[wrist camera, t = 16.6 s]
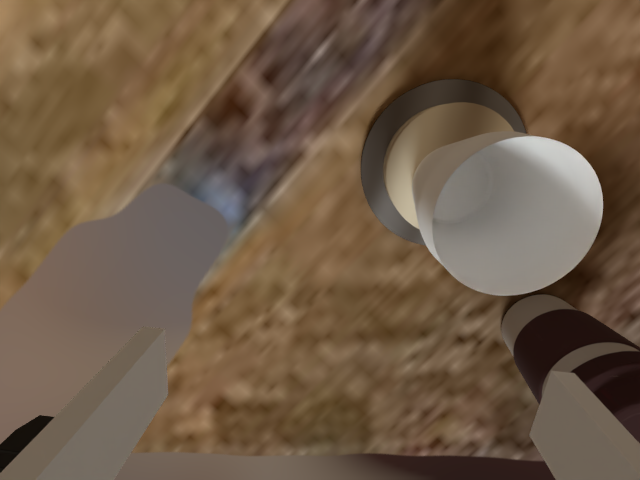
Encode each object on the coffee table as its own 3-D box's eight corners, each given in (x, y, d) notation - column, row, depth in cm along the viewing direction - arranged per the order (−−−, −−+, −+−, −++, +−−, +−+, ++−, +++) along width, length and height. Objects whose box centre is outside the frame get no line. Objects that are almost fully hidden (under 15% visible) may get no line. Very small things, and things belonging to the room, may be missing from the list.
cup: (374, 187, 31) (393, 225, 20) (456, 103, 29) (530, 91, 17) (447, 256, 33) (503, 327, 21) (530, 181, 30) (643, 217, 19)
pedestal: (346, 228, 37) (347, 240, 33) (380, 65, 32) (385, 58, 28) (494, 255, 37) (512, 271, 33) (549, 97, 32) (577, 93, 28)
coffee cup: (471, 306, 38) (548, 414, 24) (566, 264, 36) (711, 355, 22) (507, 376, 41) (596, 513, 27) (597, 340, 39) (746, 467, 25)
